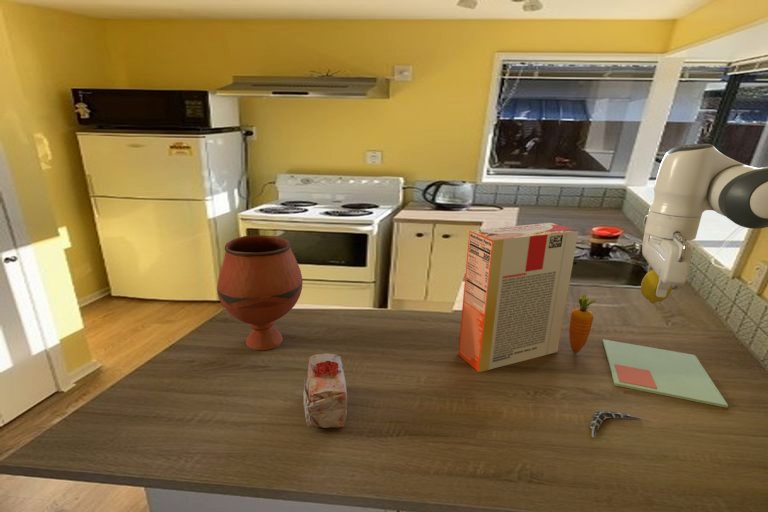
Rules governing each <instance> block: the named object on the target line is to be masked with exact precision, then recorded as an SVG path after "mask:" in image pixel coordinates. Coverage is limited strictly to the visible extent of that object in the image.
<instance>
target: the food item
mask: <svg viewBox="0 0 768 512" xmlns="http://www.w3.org/2000/svg"><path fill="white" fill-rule="evenodd" d="M307 366H308V367H307V378H304V379H303V380H304V381H303V383H304V384H303V392H302V395H303V409H304V416H305V421H306V422H305V423H306V425H307V426H308V428H309V429H310V428H322V429H328V428H338V429H339V428H344V427H345V425H346V420H347V413H348V389H347V381H346V377H345V372H344V364H343V360H342V356H341V355H338V354H336V353H326V352H324V353H318V354H317V353H316V354H312V355H310V356H309V358H308V365H307Z"/></svg>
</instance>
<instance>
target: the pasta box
mask: <svg viewBox="0 0 768 512" xmlns="http://www.w3.org/2000/svg"><path fill="white" fill-rule="evenodd" d="M578 236H579V230H577V229H574V228H570V227H567V226H564V225H560V224H557V223H553V222H543V223H531V224H521V225H511V226H502V227H492V228H491V227H490V228H480V229H470V230H469V231H468V240H467V241H468V243H467V252H466V263H465V275H464V286H463V287H464V288H463V295H462V296H463V298H462V307H461V320H460V329H459V340H458V353H457V354H458V356H460V358H462V360H464V361H465V362H466V363H468V365H470V366H471V367H472V368H473V369H474V370H475V371H476V372H478V373H482V372H486V371H489V370H493V369H497V368H500V367H506V366H508V365H509V366H510V365H512V364H516V363H521V362H524V361H528V360H532V359H536V358H540V357H544V356H548V355H551V354H555V353H558V351H559V347H560V340H561V334H562V329H563V323H564V318H565V317H564V316H565V312H566V311H565V310H566V305H567V300H568V294H569V288H570V283H571V277H572V271H573V265H574V260H575V254H576V247H577V243H578Z"/></svg>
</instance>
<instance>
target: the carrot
mask: <svg viewBox="0 0 768 512" xmlns="http://www.w3.org/2000/svg"><path fill="white" fill-rule="evenodd" d="M589 300H590V298H589V297H587V294H585V293H584V294H582V297H578V304H579V307H575V308H573V309H572V310H571V312H570V317H569V318H570V319H569V327H568V329H569V330H568V333H569V334H568V336H569V344H570V348H571V351H572V352H573V353H574V354H578V353H579V352H580V351H581V350H582V349H583V347H584V346H585V345H586V342H587V341H588V339H589V336H590V333H591V330H592V326H593V322H594V313H593V311H591V310H589V308H590V305H592V304H594V303H596V302H597V301H596V299H592V300H590V301H589Z"/></svg>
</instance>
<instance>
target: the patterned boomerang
mask: <svg viewBox="0 0 768 512" xmlns="http://www.w3.org/2000/svg"><path fill="white" fill-rule="evenodd" d="M612 418H613V419H626V420H627V419H629V420H631V419H633V420H637V421H643V420H644V418H643V417H639V416H633V415H630V414H628V413H624V412H616V411H610V410H600V409H599V410H596V411H595V412H594V415H593V417H592V419H591V422H590V426H589V428H590V429H591V437H592V438H596V434H597V431H599V430H600V427H601V425H602V423H603V422H604V421H605V420H606V419H612Z"/></svg>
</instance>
